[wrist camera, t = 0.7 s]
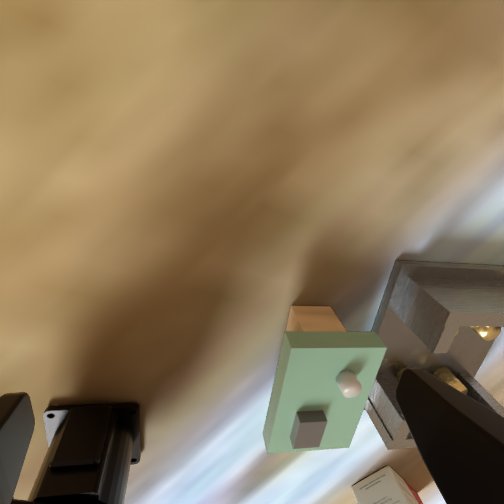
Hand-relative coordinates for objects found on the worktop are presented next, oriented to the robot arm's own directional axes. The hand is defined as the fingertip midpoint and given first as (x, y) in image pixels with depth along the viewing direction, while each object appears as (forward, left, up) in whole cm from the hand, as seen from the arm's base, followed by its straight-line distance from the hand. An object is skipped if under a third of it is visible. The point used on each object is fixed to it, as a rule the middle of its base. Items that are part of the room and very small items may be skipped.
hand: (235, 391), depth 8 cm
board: (-10, -8, -10) cm, 16 cm away
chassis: (-9, -19, -13) cm, 25 cm away
